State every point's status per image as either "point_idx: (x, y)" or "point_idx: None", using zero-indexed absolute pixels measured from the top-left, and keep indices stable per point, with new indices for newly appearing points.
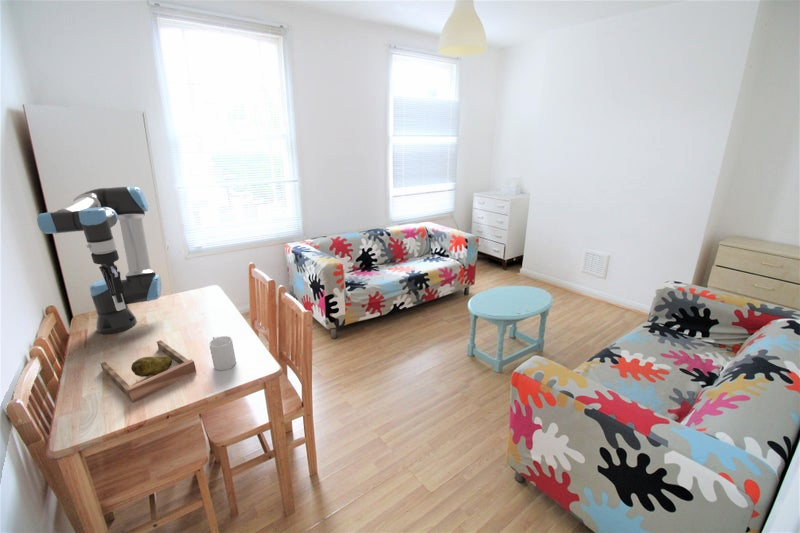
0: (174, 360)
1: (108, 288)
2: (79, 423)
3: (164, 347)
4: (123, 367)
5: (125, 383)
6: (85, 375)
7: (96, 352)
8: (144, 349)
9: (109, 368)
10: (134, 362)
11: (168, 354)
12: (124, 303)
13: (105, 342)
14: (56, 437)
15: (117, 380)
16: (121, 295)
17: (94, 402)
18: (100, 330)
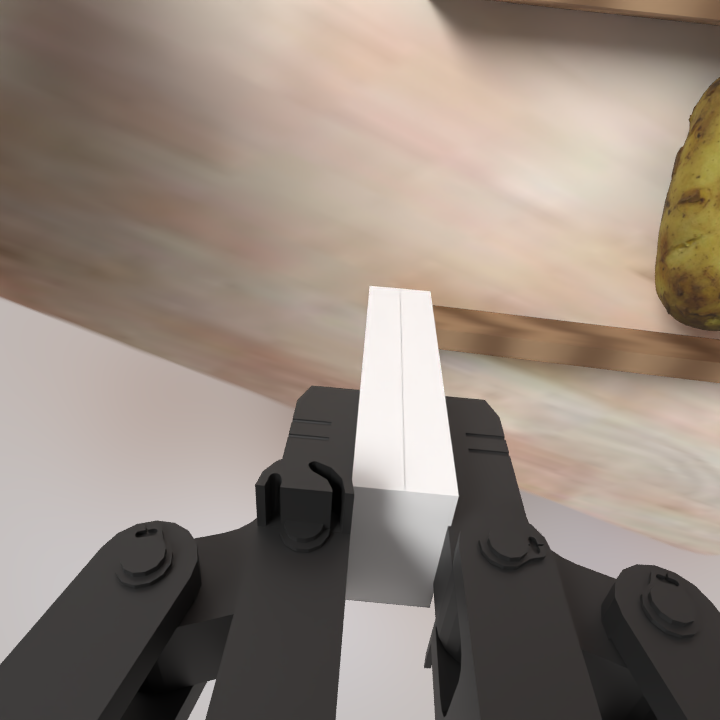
0: (711, 24)
1: (163, 708)
2: (675, 494)
3: (584, 5)
4: (442, 249)
5: (715, 367)
6: (346, 368)
7: (130, 250)
8: (335, 64)
9: (481, 341)
10: (707, 315)
11: (622, 13)
12: (436, 337)
13: (21, 166)
14: (666, 541)
15: (642, 372)
16: (451, 462)
17: (605, 430)
18: None
